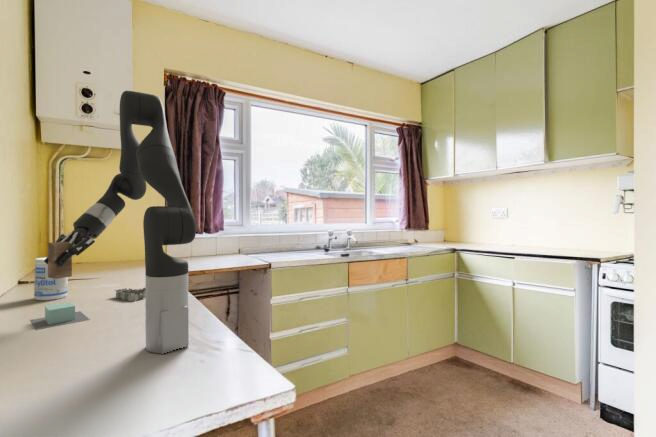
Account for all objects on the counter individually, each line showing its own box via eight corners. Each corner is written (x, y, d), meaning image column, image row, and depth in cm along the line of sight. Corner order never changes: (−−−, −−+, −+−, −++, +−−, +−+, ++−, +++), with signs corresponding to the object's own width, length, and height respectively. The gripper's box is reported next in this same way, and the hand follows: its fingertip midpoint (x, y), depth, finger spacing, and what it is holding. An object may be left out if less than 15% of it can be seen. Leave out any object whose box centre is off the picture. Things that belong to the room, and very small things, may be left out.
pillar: (71, 276, 99) (71, 242, 99) (56, 278, 96) (56, 243, 96) (63, 275, 101) (63, 241, 101) (47, 277, 97) (47, 242, 97)
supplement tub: (30, 302, 118) (30, 260, 118) (38, 296, 126) (38, 257, 126) (65, 299, 123) (65, 258, 122) (70, 293, 131) (70, 255, 131)
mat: (90, 320, 99) (90, 319, 99) (36, 331, 90) (36, 329, 90) (80, 312, 107) (80, 311, 107) (30, 321, 98) (30, 319, 98)
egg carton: (150, 298, 126) (150, 287, 126) (130, 303, 119) (130, 291, 119) (132, 294, 131) (132, 284, 131) (112, 299, 124) (112, 288, 124)
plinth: (75, 319, 99) (75, 306, 99) (48, 324, 94) (48, 310, 94) (70, 315, 103) (70, 302, 103) (45, 319, 98) (45, 306, 98)
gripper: (71, 212, 108) (26, 254, 97) (101, 212, 102) (56, 257, 91) (89, 228, 113) (47, 270, 102) (118, 229, 107) (77, 273, 96)
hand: (52, 263), depth 96 cm, fingers closed on pillar, 4 cm apart
